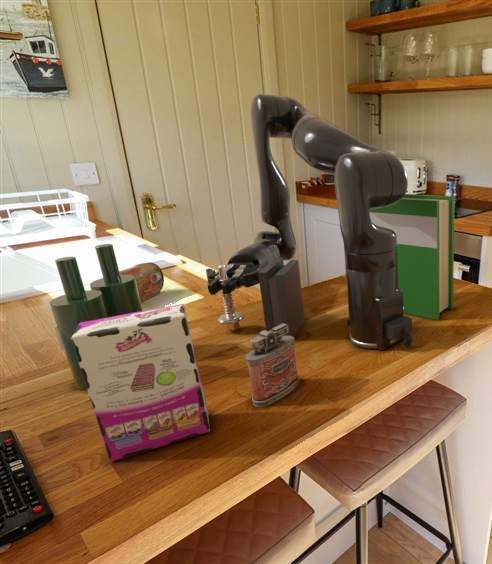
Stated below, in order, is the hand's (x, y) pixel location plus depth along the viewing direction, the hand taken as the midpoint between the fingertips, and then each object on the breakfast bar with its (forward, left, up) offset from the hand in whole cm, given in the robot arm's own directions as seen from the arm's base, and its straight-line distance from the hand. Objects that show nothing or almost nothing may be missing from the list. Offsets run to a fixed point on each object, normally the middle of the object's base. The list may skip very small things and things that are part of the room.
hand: (218, 289), depth 78 cm
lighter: (-24, +5, -10) cm, 26 cm away
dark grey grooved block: (-7, -9, -10) cm, 15 cm away
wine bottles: (+4, +17, -10) cm, 20 cm away
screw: (+2, -2, -9) cm, 10 cm away
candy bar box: (-21, +20, -10) cm, 31 cm away
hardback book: (-18, -33, -10) cm, 39 cm away
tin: (+37, +3, -10) cm, 38 cm away
